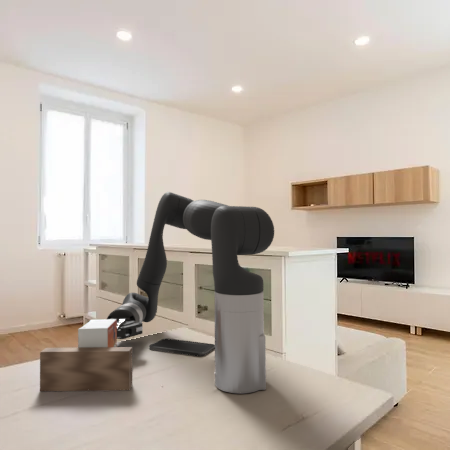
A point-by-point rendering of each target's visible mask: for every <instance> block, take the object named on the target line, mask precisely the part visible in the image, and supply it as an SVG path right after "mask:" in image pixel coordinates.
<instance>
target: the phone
mask: <svg viewBox="0 0 450 450" xmlns="http://www.w3.org/2000/svg"><path fill="white" fill-rule="evenodd" d="M148 349H149V350H150V351H154V352H155V351H156V352H164V353H170V354H171V353H172V354H177V355H184V356H192V357H205V356H206V355H209V353H211V352H212V351H215V343H206V342H198V341H193V340H192V341H191V340H184V339H175V338H168V337H167V338H162V339H160V340H158V341H156V342H153V343H151V344H149V348H148Z"/></svg>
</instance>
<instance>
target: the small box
mask: <svg viewBox="0 0 450 450" xmlns="http://www.w3.org/2000/svg"><path fill="white" fill-rule="evenodd" d="M117 341H118V339H117V319H107V318H104V319H90V320H89V321H88V322H86V323H85V324H84V325H83V326H81V327H79V328H78V329H77V348H81V347H118V346H117Z"/></svg>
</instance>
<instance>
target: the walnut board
mask: <svg viewBox="0 0 450 450" xmlns="http://www.w3.org/2000/svg"><path fill="white" fill-rule="evenodd" d="M132 386H133V346H119V347H118V346H117V347H81V348H78V347H45V348H44V349H42V350H41V351H40V352H39V392H77V391H78V392H79V391H80V392H82V391H83V392H85V391H86V392H93V391H94V392H95V391H96V392H98V391H99V392H100V391H101V392H102V391H107V392H108V391H111V392H112V391H130V390H131V388H132Z"/></svg>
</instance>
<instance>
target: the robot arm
mask: <svg viewBox="0 0 450 450" xmlns="http://www.w3.org/2000/svg"><path fill="white" fill-rule="evenodd" d="M166 225H168V226H170V227H175V228H178V229H182V230H186V231H188V233H190V234H191V235H192V236H194V237H197V238H200V239H202V240H207V241H208V240H209V241H210V242H211V255H212V256H211V257H212V258H211V259H212V276H213V277H212V278H213V283H214V287H213V288H214V345H215V349H214V386H215V387H216V388H217V389H219V390H221V391H223V392H227V393H230V394H231V393H232V394H249V393H255V392H257V391H261V390H263V391H264V390H265V391H266V389H267V379H266V377H267V369H266V368H267V365H266V361H267V359H266V356H267V355H266V351H267V350H266V347H267V346H266V335H265V331H264V330H265V318H264V317H265V315H264V312H265V311H264V307H265V306H264V304H265V303H264V299H265V298H264V296H265V295H264V279H263V277H262V276H261V275H260V274H257V273H254V272H252V271H248V270H246V269H245V268H243V267H242V266H241V265H240V263H239V258H238V256H247V255H249V256H250V255H257V254H261V253H263V252H265V251H266V250H268V248H269V247H270V246H271V244H272V243H273V240H274V237H275V226H274V222H273V220H272V218H271V216H270V215H269V214H268V212H266V211H265V210H264V209H262V208H260V207H257V206H243V205H241V206H238V205H227V204H224V203H221V202H217V201H214V200H207V199H196V200H193V199H191V198H189V197H186V196H182V195H179V194H176V193H174V192H171V191H167V192H165V193H163V195H161V197H160V198H159V202H158V205H157V207H156V210H155V215H154V219H153V223H152V228H151V230H150V231H151V232H150V236H149V238H148V239H149V240H148V245H147V249H146V253H145V257H144V260H143V263H142V266H141V269H140V271H139V274H138V277H137V279H136V285H137V286H136V287H138V288H139V289H140V290H141V291H142V292H144V293H145V294H146V295H147V296H145V295H142V294H140V293H136V292H129V293H127V295H126V296H125V297H124V298H123V302H122V304H121V305H120V306H118V307H117V308H115V309H114V310H113V311H111V312H110V313H109V314H108V315H107V318H106V319H117V340H126V339H128V338H129V339H130V338H131V337H136V336H139V335H143V328H144V327H143V323H149V322H152V321H153V320H154V319H155V318H156V315H157V314H158V303H159V301H158V300H159V292H160V288H161V285H162V283H163V282H162V281H163V280H164V277H165V275H166V271H167V265H168V259H167V254H166V249H165V245H164V239H163V238H164V235H163V234H164V228H165V226H166Z"/></svg>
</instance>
